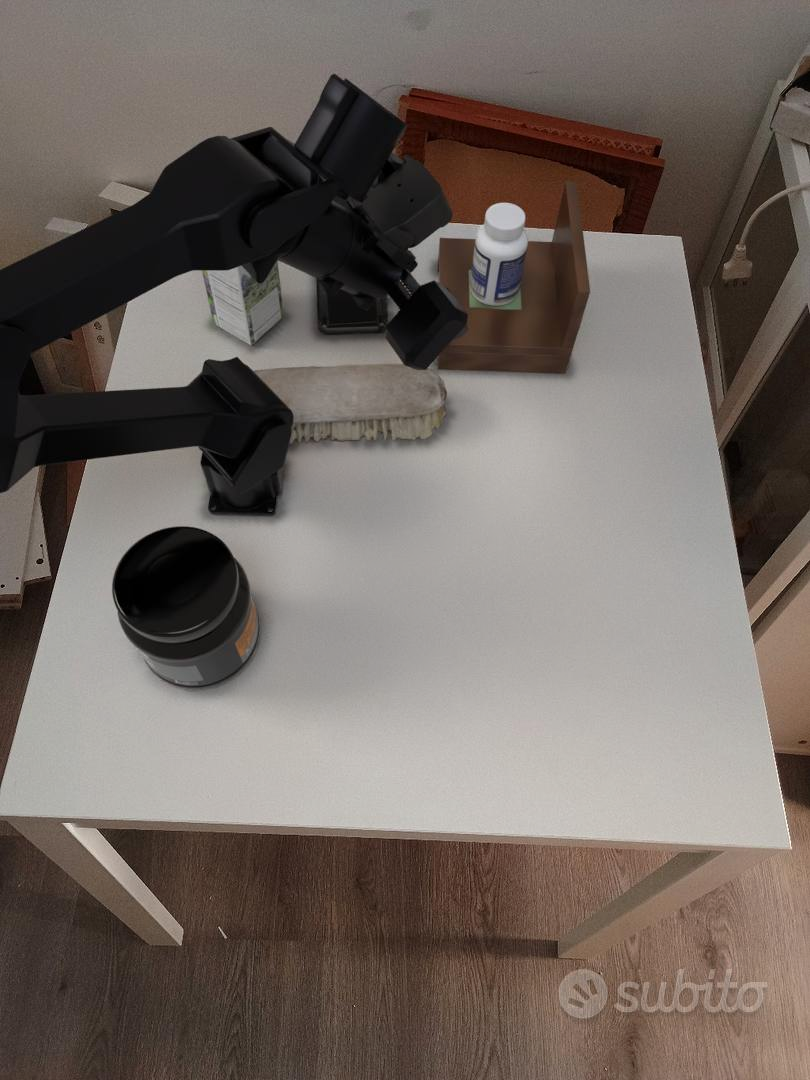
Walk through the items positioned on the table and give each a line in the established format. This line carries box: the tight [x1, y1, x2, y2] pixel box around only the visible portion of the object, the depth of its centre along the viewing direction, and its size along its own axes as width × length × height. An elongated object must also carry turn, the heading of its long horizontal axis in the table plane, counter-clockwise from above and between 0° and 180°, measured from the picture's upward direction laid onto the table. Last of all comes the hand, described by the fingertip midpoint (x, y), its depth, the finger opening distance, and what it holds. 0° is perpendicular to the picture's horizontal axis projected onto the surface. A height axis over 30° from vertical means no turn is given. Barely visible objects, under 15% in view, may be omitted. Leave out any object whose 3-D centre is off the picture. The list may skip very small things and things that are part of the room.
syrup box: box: [201, 260, 285, 347], centre depth 86 cm, size 6×6×14 cm
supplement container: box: [111, 525, 261, 691], centre depth 69 cm, size 10×10×12 cm
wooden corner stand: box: [437, 180, 591, 375], centre depth 89 cm, size 14×16×12 cm
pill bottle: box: [470, 202, 529, 306], centre depth 86 cm, size 5×5×10 cm
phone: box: [315, 278, 389, 336], centre depth 95 cm, size 8×1×15 cm
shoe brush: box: [253, 363, 448, 445], centre depth 84 cm, size 24×8×5 cm, turn 95°
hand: (438, 298), depth 77 cm, fingers open, 9 cm apart
